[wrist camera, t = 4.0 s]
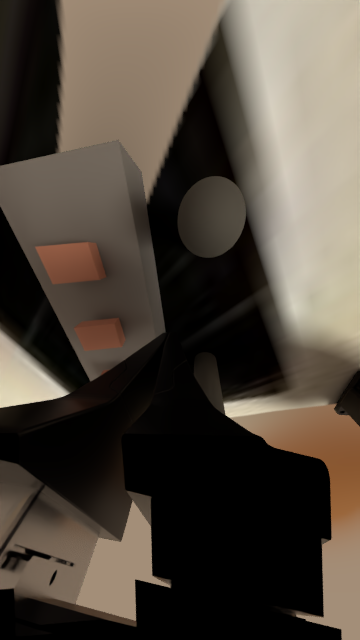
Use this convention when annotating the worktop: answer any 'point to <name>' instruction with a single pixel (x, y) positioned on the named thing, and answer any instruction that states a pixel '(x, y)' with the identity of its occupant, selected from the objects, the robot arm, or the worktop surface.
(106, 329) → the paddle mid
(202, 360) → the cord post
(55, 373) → the worktop surface
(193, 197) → the peg
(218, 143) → the worktop surface
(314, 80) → the worktop surface
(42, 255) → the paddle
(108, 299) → the power strip
